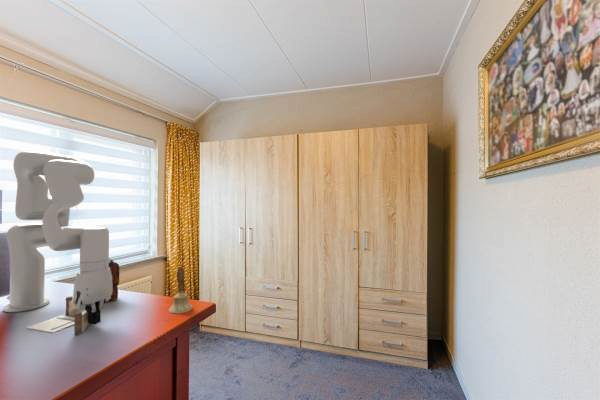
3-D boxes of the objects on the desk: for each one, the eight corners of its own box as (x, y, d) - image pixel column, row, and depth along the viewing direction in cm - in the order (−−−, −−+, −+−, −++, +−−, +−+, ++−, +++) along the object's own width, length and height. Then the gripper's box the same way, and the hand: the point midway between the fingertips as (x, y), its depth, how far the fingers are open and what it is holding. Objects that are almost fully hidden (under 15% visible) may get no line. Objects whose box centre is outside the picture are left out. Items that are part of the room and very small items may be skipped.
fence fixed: (64, 315, 100) (64, 298, 100) (70, 312, 102) (70, 296, 102) (94, 319, 96) (94, 302, 96) (99, 317, 98) (100, 300, 98)
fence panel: (90, 319, 96) (90, 301, 96) (96, 318, 96) (96, 301, 96) (73, 335, 84) (73, 315, 85) (80, 334, 85) (80, 314, 85)
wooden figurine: (83, 307, 107) (83, 260, 107) (82, 302, 112) (83, 257, 112) (120, 300, 114) (120, 256, 115) (117, 296, 119) (118, 254, 120)
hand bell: (181, 315, 100) (181, 270, 100) (163, 312, 103) (163, 268, 103) (197, 307, 108) (197, 265, 108) (180, 304, 111) (180, 263, 111)
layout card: (26, 328, 89) (26, 327, 89) (61, 316, 99) (61, 315, 99) (53, 333, 86) (53, 331, 86) (85, 320, 96) (85, 318, 96)
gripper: (106, 260, 99) (106, 313, 98) (60, 270, 84) (60, 332, 84) (124, 261, 97) (123, 315, 97) (80, 272, 82) (79, 335, 82)
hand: (94, 322), depth 90 cm, fingers closed
